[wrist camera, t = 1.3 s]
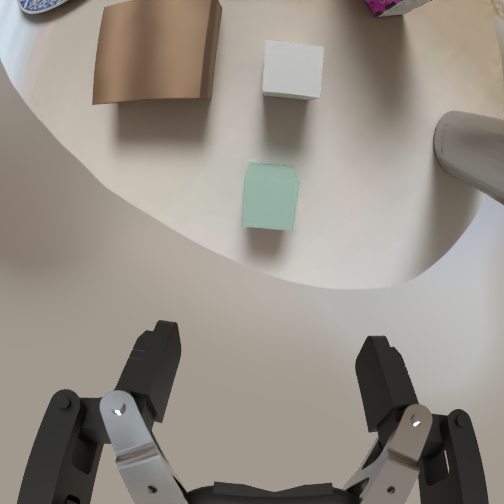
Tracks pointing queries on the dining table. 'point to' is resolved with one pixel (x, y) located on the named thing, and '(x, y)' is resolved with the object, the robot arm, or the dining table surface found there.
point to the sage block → (270, 196)
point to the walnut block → (156, 51)
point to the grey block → (292, 70)
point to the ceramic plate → (38, 5)
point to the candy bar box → (393, 6)
